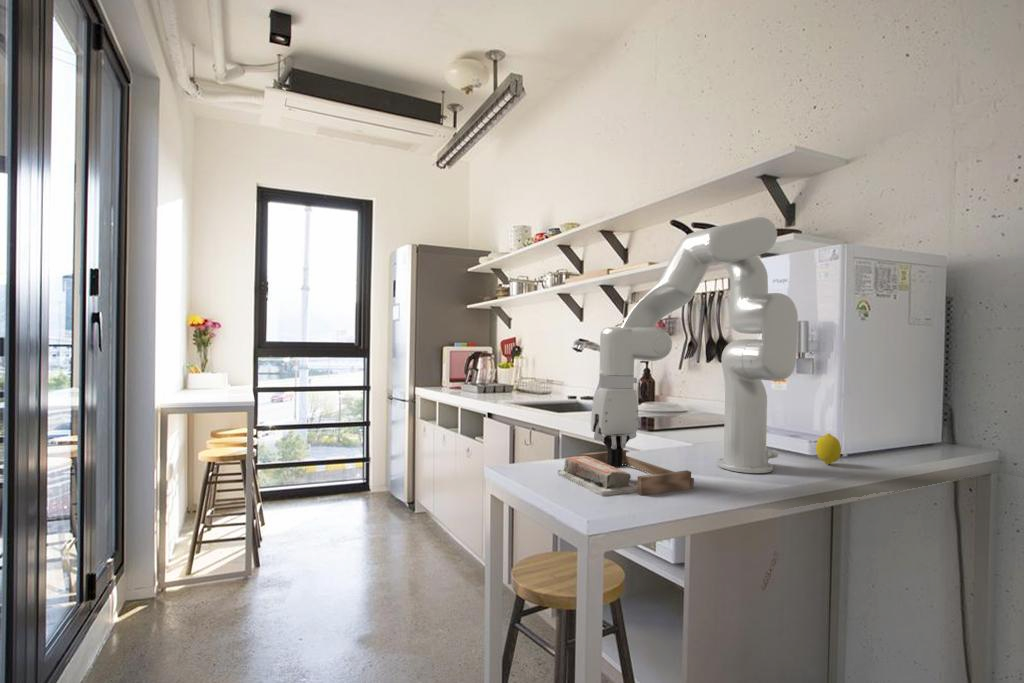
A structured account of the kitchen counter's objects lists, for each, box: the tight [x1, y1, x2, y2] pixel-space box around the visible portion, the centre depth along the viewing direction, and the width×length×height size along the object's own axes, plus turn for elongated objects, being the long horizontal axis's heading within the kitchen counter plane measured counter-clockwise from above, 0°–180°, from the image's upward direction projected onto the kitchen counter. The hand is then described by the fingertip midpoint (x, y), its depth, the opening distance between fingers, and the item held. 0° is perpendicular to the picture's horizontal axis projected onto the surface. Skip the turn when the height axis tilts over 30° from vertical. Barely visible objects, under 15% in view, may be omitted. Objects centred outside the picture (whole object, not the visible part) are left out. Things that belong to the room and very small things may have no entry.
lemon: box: [815, 433, 842, 465], centre depth 136 cm, size 6×6×8 cm
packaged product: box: [557, 455, 637, 497], centre depth 116 cm, size 18×5×10 cm
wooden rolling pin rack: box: [578, 449, 695, 496], centre depth 120 cm, size 14×23×4 cm, turn 26°
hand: (614, 465), depth 118 cm, fingers closed
